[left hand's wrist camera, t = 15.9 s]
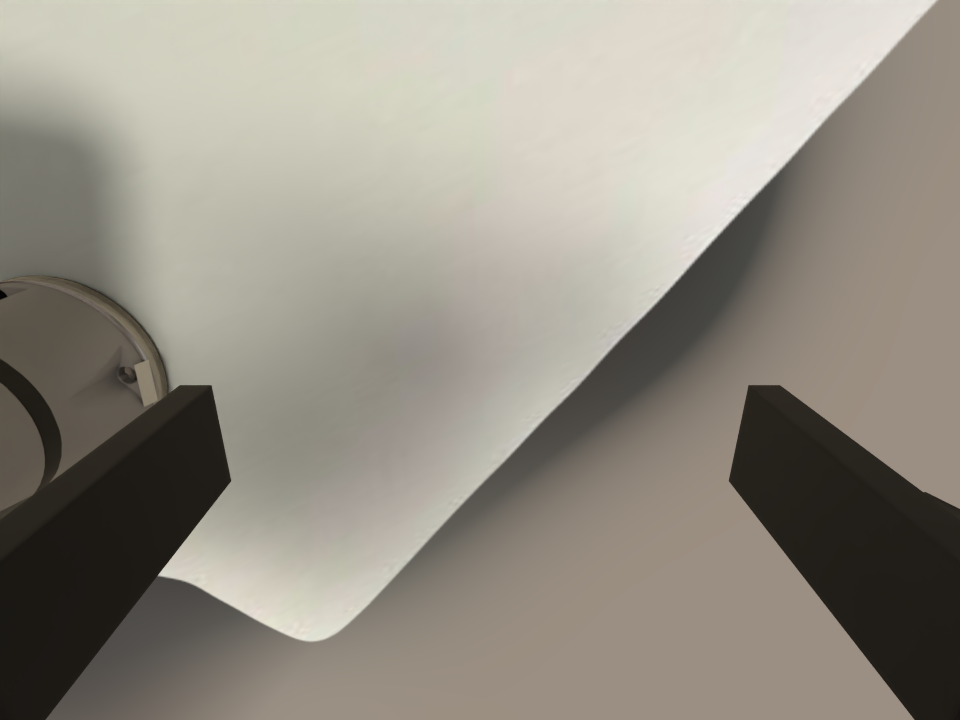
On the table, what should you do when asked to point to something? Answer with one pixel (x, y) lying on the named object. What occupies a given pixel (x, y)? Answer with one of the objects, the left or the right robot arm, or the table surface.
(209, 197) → the table surface
